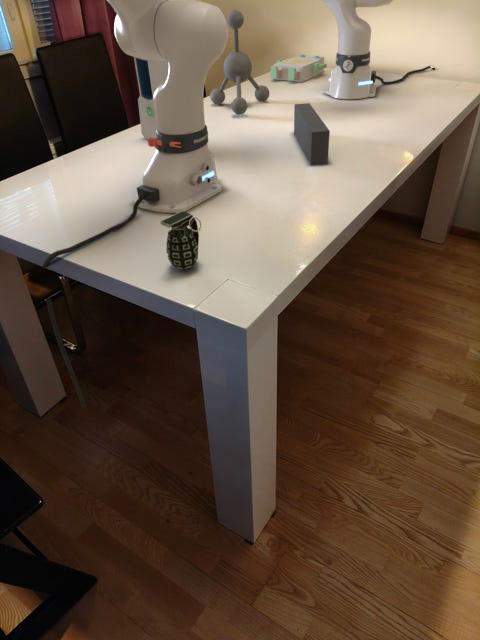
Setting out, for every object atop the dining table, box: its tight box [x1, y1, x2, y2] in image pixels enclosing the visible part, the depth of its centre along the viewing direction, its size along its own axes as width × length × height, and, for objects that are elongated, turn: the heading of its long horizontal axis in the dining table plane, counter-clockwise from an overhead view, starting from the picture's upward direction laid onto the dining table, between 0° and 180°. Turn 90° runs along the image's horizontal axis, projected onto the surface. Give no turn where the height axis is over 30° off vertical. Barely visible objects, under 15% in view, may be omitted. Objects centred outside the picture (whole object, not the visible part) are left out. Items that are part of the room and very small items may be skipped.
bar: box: [293, 102, 331, 166], centre depth 137 cm, size 27×5×9 cm, turn 4°
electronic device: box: [133, 57, 169, 140], centre depth 143 cm, size 12×8×30 cm, turn 47°
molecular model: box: [209, 9, 270, 116], centre depth 169 cm, size 24×22×30 cm
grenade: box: [159, 211, 202, 271], centre depth 88 cm, size 7×6×10 cm
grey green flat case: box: [270, 54, 328, 83], centre depth 210 cm, size 26×6×20 cm
